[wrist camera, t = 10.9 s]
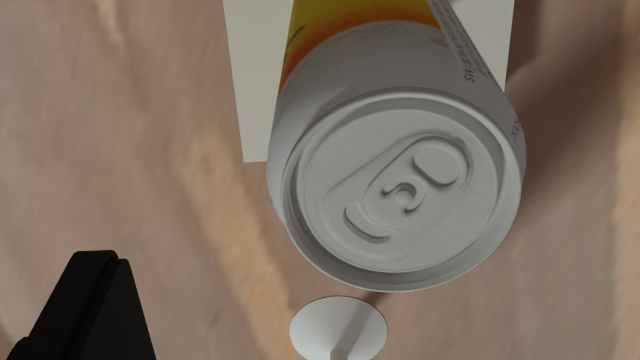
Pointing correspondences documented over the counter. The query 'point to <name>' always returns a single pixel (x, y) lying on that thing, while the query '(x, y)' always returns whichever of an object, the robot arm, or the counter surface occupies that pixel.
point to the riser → (270, 42)
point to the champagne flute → (338, 330)
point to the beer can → (391, 144)
